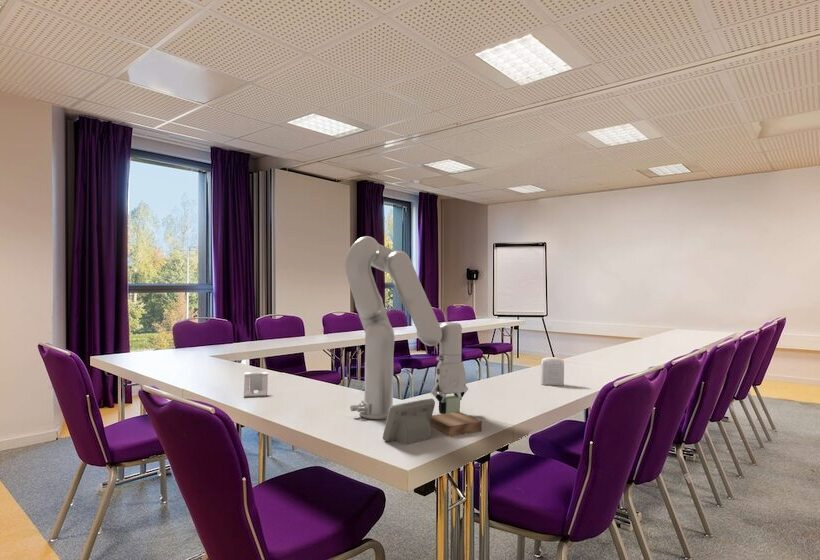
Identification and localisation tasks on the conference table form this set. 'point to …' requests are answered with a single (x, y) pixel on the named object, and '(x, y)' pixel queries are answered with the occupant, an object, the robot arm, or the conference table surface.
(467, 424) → the wooden square slab
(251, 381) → the portable electronic device stand
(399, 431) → the digital clock
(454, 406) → the sage block
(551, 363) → the photo printer
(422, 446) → the conference table surface
